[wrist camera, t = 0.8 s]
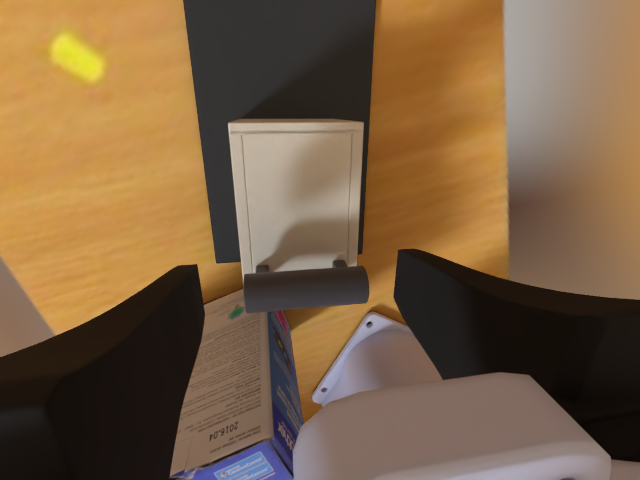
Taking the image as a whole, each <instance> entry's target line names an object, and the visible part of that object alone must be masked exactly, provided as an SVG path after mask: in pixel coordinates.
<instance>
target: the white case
mask: <svg viewBox="0 0 640 480" xmlns="http://www.w3.org/2000/svg"><path fill="white" fill-rule="evenodd" d="M228 130H229V140H230V151H231V161H232V172H233V182H234V193H235V204H236V214H237V225H238V235H239V246H240V256H241V267H242V277H243V293H244V306H245V311H246V313H259V312H270V311H281V310H293V309H304V308H316V307H327V306H338V305H350V304H361V303H366V302H367V301H368V297H369V281H368V276H367V272H366V270H365V268H364V267H363V266H357V253H358V232H359V212H360V191H361V171H362V150H363V130H364V123H363V122H358V121H349V120H340V119H238V120H235V121H232V122H229V123H228Z"/></svg>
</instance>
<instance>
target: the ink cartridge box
mask: <svg viewBox="0 0 640 480" xmlns="http://www.w3.org/2000/svg"><path fill="white" fill-rule="evenodd" d="M204 311H205V320H204V328H203V334H202V340H201V344H200V347H199V351H198V354H197V358H196V361H195V364H194V368H193V371H192V374H191V378H190V381H189V384H188V388H187V391H186V394H185V398H184V402H183V406H182V410H181V414H180V419H179V425H178V430H177V436H176V441H175V447H174V453H173V459H172V465H171V471H170V477H169V480H293V478H294V474H293V453H292V452H293V449H294V446H295V443H296V440H297V437H298V434H299V431H300V428H301V426H302V425H303V417H302V411H301V404H300V397H299V391H298V384H297V377H296V370H295V363H294V356H293V349H292V341H291V334H290V326H289V324H288V321H287V319H286V317H285V315H284V313H283V311H282V310H281V311H270V312H259V313H246V311H245V306H244V293H243V289H241V290H239V291H236V292H234V293H231V294H229V295H227V296H224V297H222V298H219V299H217V300H215V301H212V302H210V303H207V304H205V305H204Z"/></svg>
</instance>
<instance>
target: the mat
mask: <svg viewBox="0 0 640 480" xmlns="http://www.w3.org/2000/svg"><path fill="white" fill-rule="evenodd" d="M183 2H184V10H185V18H186V26H187V34H188V42H189V50H190V58H191V66H192V74H193V82H194V90H195V98H196V106H197V114H198V122H199V130H200V138H201V145H202V153H203V161H204V169H205V177H206V185H207V193H208V201H209V209H210V217H211V225H212V233H213V241H214V249H215V257H216V263H230V262H241V256H240V246H239V235H238V225H237V214H236V204H235V193H234V182H233V172H232V161H231V151H230V140H229V130H228V123H229V122H232V121H235V120H238V119H340V120H349V121H358V122H363V123H364V130H363V150H362V171H361V191H360V212H359V232H358V253H357V254H362V248H363V229H364V211H365V193H366V174H367V156H368V137H369V119H370V101H371V82H372V64H373V45H374V27H375V9H376V0H183Z"/></svg>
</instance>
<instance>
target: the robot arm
mask: <svg viewBox="0 0 640 480" xmlns="http://www.w3.org/2000/svg"><path fill="white" fill-rule="evenodd" d="M394 299H395V302H396V304H397V306H398V309H399V311H400V313H401V315H402V317H403V319H404V320H405V322H406V324H407V325H408V326H406V325H404V324H402V323H399V322H397V321H395V320H393V319H390V318H388V317H386V316H383V315H381V314H379V313H376V312H369V313H368V314H367V315H366V316H365V318H364V319H363V321H362V322H361V324H360V325H359V326H358V328H357V329H356V331H355V332H354V334H353V335H352V337H351V338H350V340H349V341H348V343H347V344H346V346H345V347H344V348H343V350H342V351H341V353H340V354H339V356H338V357H337V359H336V360H335V362H334V363H333V365H332V366H331V368H330V369H329V370H328V372H327V373H326V375H325V376H324V378H323V379H322V381H321V382H320V384H319V385H318V387H317V388H316V390H315V391H314V392H313V394H312V400H313V402H315V403H318V404H322V408H321V409H320V410H319V411H318V412H317V413H316V414H315V415H313V416H312V417H311V418H310V419H309V420H308V421H307V422H306V423H304V424H303V425H302V426H301V428H300V431H299V434H298V437H297V440H296V443H295V446H294V449H293V452H292V453H293V474H294V478H293V480H640V300H633V299H619V298H607V297H597V296H589V295H581V294H574V293H567V292H560V291H555V290H550V289H544V288H539V287H534V286H529V285H525V284H521V283H517V282H513V281H509V280H506V279H502V278H498V277H495V276H492V275H489V274H485V273H482V272H479V271H476V270H473V269H471V268H468V267H465V266H462V265H460V264H457V263H454V262H452V261H449V260H447V259H444V258H441V257H439V256H436V255H433V254H431V253H428V252H425V251H421V250H418V249H403V250H398V257H397V267H396V277H395V287H394ZM204 320H205V311H204V304H203V298H202V292H201V286H200V279H199V273H198V267H197V264H195V265H181V266H177V267H175V268H173V269H172V270H170V271H168V272H167V273H165V274H164V275H163V276H161V277H160V278H158V279H157V280H155V281H154V282H153V283H151V284H150V285H148V286H147V287H145V288H144V289H142V290H141V291H139V292H138V293H136V294H135V295H133V296H131V297H130V298H128V299H127V300H125V301H123V302H122V303H120V304H119V305H117V306H115V307H114V308H112V309H110V310H109V311H107V312H105V313H103V314H101V315H99V316H97V317H95V318H94V319H92V320H90V321H88V322H86V323H84V324H82V325H80V326H77V327H75V328H73V329H71V330H68V331H66V332H64V333H61V334H59V335H57V336H55V337H52V338H50V339H48V340H46V341H43V342H41V343H38V344H36V345H33V346H30V347H28V348H25V349H22V350H19V351H17V352H14V353H11V354H9V355H6V356H3V357H0V480H169V477H170V471H171V465H172V459H173V453H174V447H175V441H176V436H177V430H178V425H179V419H180V414H181V410H182V406H183V402H184V398H185V394H186V391H187V388H188V384H189V381H190V378H191V374H192V371H193V368H194V364H195V361H196V358H197V354H198V351H199V347H200V344H201V340H202V334H203V328H204ZM368 322H371V323H370V324H367V323H368ZM322 388H324V389H322Z"/></svg>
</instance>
